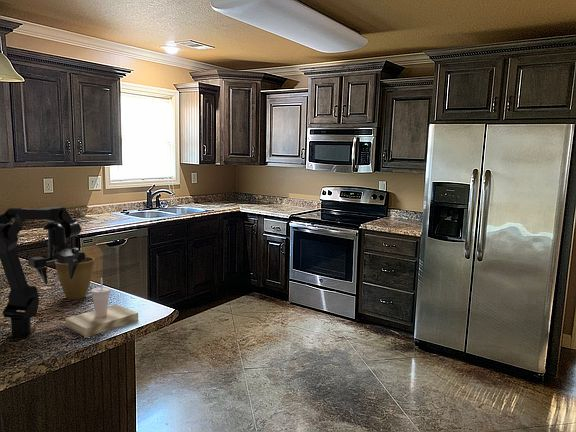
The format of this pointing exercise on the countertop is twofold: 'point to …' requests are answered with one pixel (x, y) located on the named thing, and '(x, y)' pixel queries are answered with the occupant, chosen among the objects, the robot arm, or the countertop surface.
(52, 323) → the countertop surface
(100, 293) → the smoothie
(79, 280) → the plant pot
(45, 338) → the countertop surface
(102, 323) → the plinth
